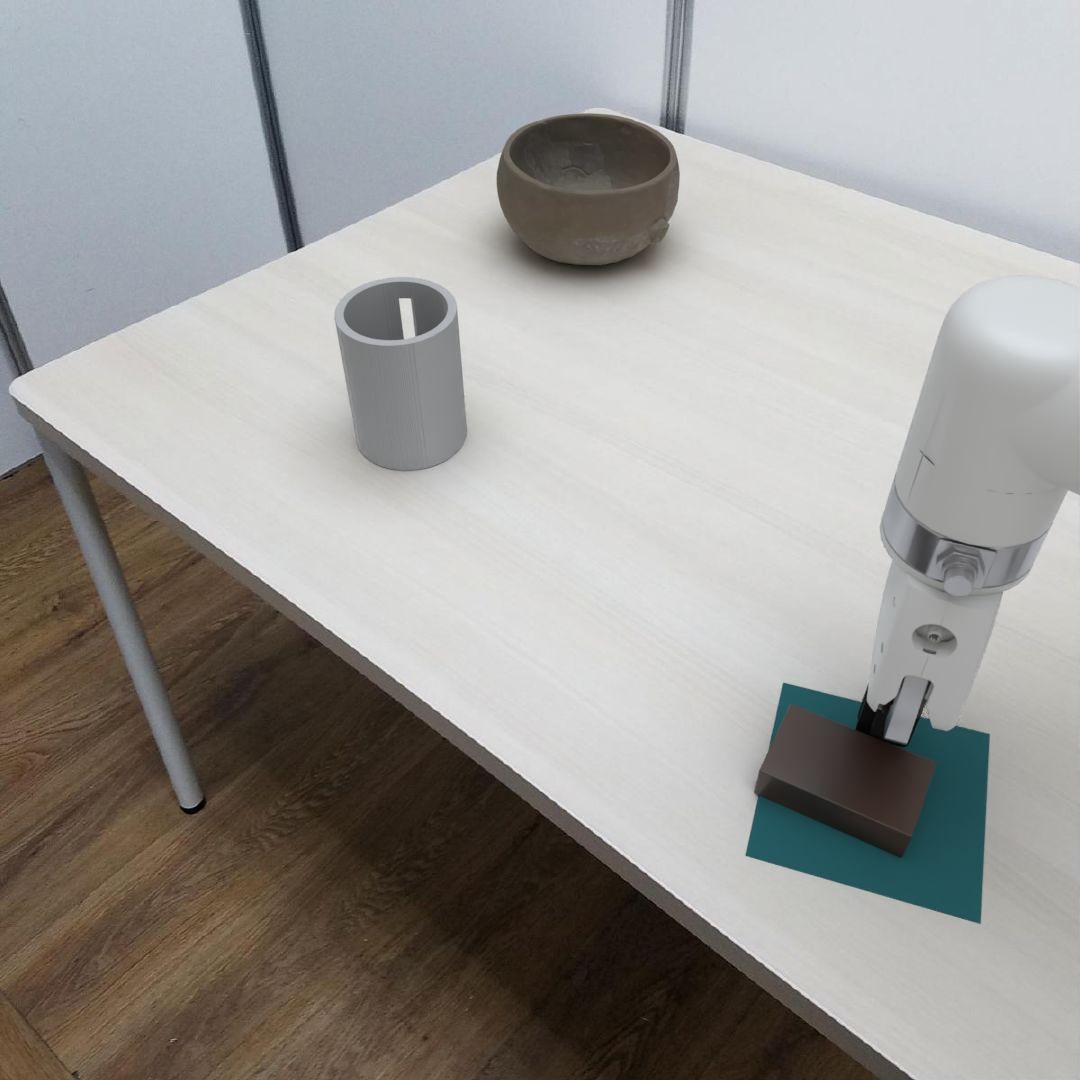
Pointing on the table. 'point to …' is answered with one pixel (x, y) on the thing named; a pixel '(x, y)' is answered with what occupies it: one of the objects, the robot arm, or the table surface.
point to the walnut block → (845, 779)
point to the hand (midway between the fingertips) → (881, 730)
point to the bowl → (588, 187)
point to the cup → (403, 372)
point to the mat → (939, 836)
